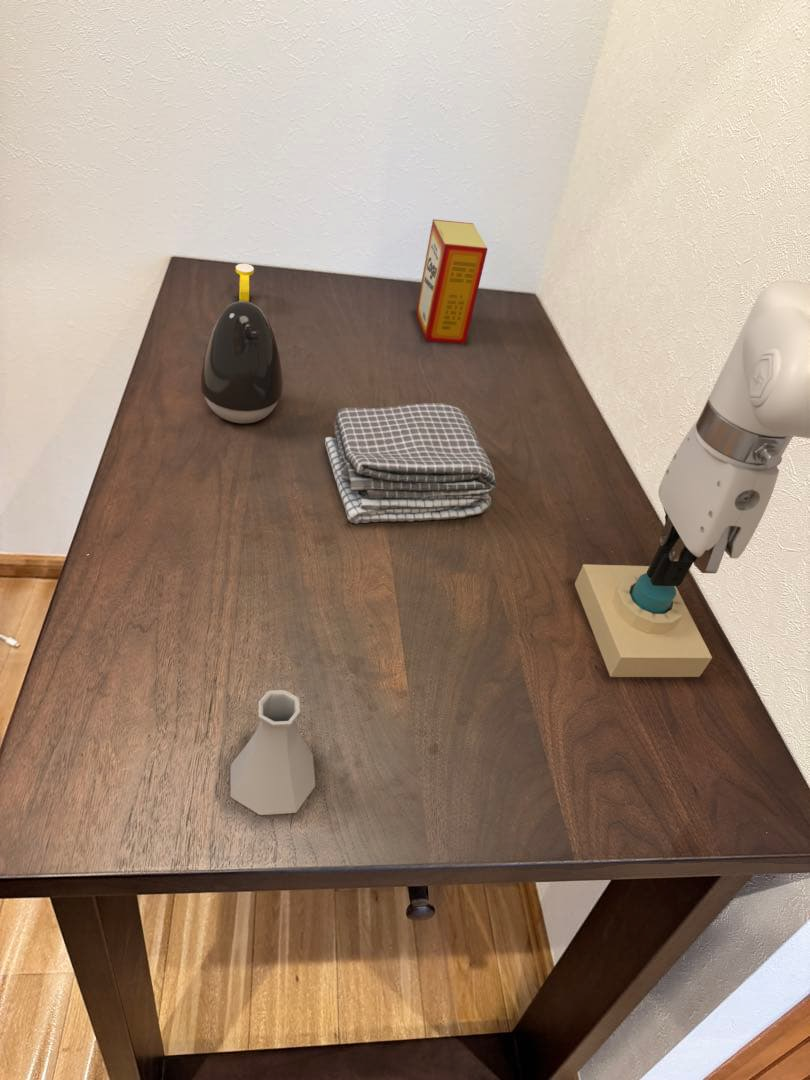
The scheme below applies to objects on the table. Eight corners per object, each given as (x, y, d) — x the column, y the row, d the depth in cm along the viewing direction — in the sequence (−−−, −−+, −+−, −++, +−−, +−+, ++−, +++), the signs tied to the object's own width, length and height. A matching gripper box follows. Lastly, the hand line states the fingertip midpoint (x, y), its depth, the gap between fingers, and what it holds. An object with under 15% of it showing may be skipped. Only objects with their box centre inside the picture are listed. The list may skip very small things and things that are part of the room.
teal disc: (674, 614, 81) (682, 601, 79) (638, 614, 80) (646, 600, 79) (660, 586, 84) (668, 572, 82) (625, 585, 83) (632, 571, 81)
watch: (234, 293, 126) (235, 257, 122) (252, 295, 127) (253, 259, 123) (234, 311, 122) (235, 274, 118) (253, 312, 122) (254, 276, 118)
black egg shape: (212, 440, 97) (212, 328, 87) (192, 394, 104) (190, 285, 93) (291, 430, 101) (299, 323, 91) (267, 387, 108) (273, 282, 98)
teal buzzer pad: (699, 677, 81) (720, 646, 78) (610, 677, 79) (627, 645, 76) (655, 586, 90) (672, 555, 87) (574, 584, 88) (588, 552, 85)
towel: (491, 521, 94) (507, 469, 89) (341, 525, 89) (349, 471, 84) (457, 445, 105) (469, 395, 100) (321, 445, 100) (327, 393, 95)
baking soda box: (415, 312, 132) (433, 216, 121) (453, 315, 133) (473, 221, 122) (426, 341, 125) (445, 242, 114) (465, 343, 126) (488, 246, 116)
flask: (215, 806, 62) (215, 735, 56) (244, 731, 68) (247, 658, 61) (303, 827, 62) (314, 759, 56) (325, 750, 68) (337, 680, 61)
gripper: (825, 486, 63) (727, 637, 75) (743, 386, 73) (668, 532, 86) (742, 481, 61) (655, 636, 73) (670, 380, 72) (605, 529, 84)
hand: (662, 580), depth 79 cm, fingers closed
